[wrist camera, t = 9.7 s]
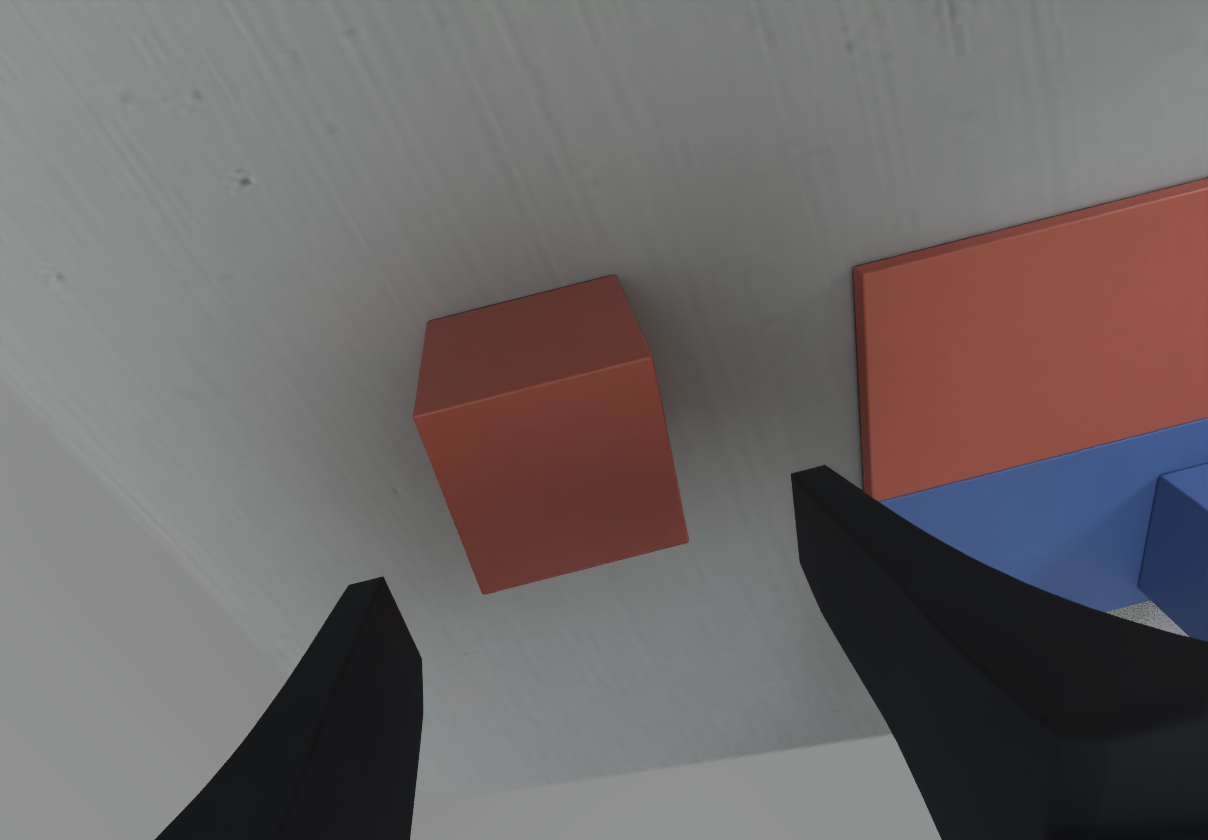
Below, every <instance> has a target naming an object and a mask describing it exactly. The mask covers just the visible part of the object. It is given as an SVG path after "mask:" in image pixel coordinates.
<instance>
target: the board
mask: <svg viewBox="0 0 1208 840" xmlns="http://www.w3.org/2000/svg"><path fill="white" fill-rule="evenodd" d="M853 270H854V291H855V312H856V333H857V354H858V374H859V395H860V416H861V437H862V458H863V478H864V492H865V493H867V494H868V495H870V496H871V497H873V498H874V499H875V500H877V501H878V502H880V503H881V504H883V505H884V506H886V507H887V508H889V509H890V510H892V511H893V512H895V513H897V514H898V515H900V516H901V517H903V518H905V519H906V520H908V521H909V522H911V523H913V524H914V525H916V526H917V527H919V528H920V529H922V530H924V531H925V532H927V533H929V534H930V535H932V536H934V537H935V538H937V539H939V540H941V541H942V542H944V543H946V544H948V545H950V546H952V547H953V548H955V549H957V550H959V551H961V552H962V553H964V554H966V555H968V556H970V557H972V558H974V559H976V560H978V561H980V562H982V563H984V564H986V565H988V566H990V567H992V568H995V569H997V570H999V571H1001V572H1003V573H1005V574H1008V575H1010V576H1012V577H1014V578H1016V579H1019V580H1021V581H1023V582H1025V583H1028V584H1030V585H1032V586H1035V587H1037V588H1040V589H1042V590H1045V591H1047V592H1050V593H1052V594H1055V595H1058V596H1060V597H1063V598H1066V599H1068V600H1071V601H1074V602H1076V603H1079V604H1082V605H1084V606H1087V607H1090V608H1093V609H1096V610H1099V611H1102V612H1106V611H1110V610H1114V609H1118V608H1122V607H1126V606H1130V605H1133V604H1137V603H1141V602H1145V601H1149V600H1150V599H1149V598H1148V597H1147V596H1146V595H1145V594H1144V593H1142V592H1141V591H1140V590H1139V588H1138V584H1139V579H1140V574H1141V568H1142V563H1143V558H1144V552H1145V547H1146V542H1147V537H1148V531H1149V526H1150V521H1151V515H1152V510H1153V505H1154V500H1155V494H1156V489H1157V484H1158V478H1159V476H1161V475H1164V474H1168V473H1172V472H1176V471H1180V470H1184V469H1188V468H1191V467H1195V466H1199V465H1203V464H1207V463H1208V178H1206V179H1203V180H1199V181H1195V182H1191V183H1187V184H1183V185H1179V186H1175V187H1171V188H1167V189H1163V190H1159V191H1155V192H1151V193H1147V194H1143V195H1139V196H1135V197H1131V198H1127V199H1123V200H1119V201H1115V202H1111V203H1107V204H1103V205H1099V206H1095V207H1091V208H1087V209H1083V210H1079V211H1075V212H1071V213H1067V214H1063V215H1059V216H1055V217H1051V218H1047V219H1043V220H1040V221H1036V222H1032V223H1028V224H1024V225H1020V226H1016V227H1012V228H1008V229H1004V230H1000V231H996V232H992V233H988V234H984V235H980V236H976V237H972V238H968V239H964V240H960V241H956V242H952V243H948V244H944V245H940V246H936V247H932V248H928V249H924V250H920V251H916V252H912V253H908V254H904V255H900V256H896V257H892V258H888V259H884V260H880V261H876V262H873V263H869V264H865V265H861V266H857V267H854V269H853Z"/></svg>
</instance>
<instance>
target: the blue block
mask: <svg viewBox="0 0 1208 840" xmlns="http://www.w3.org/2000/svg"><path fill="white" fill-rule="evenodd" d="M1138 588H1139V590H1140V591H1141V592H1142V593H1144V594H1145V595H1146V596H1147V597H1148V598H1149V599H1150V600H1151V601H1152V602H1153V603H1154V604H1155V605H1156V606H1157V607H1158V608H1159V609H1161V610H1162V611H1163V612H1164V613H1165V614H1166V615H1167V616H1168V617H1169V618H1170V619H1171V620H1172V621H1173V622H1174V623H1175V624H1177V625H1178V626H1179V627H1180V628H1181V629H1182V630H1183V631H1184V632H1185V633H1186V634H1187V635H1188V636H1189V637H1191V638H1195V639H1199V640H1203V641H1207V642H1208V463H1207V464H1203V465H1199V466H1195V467H1191V468H1188V469H1184V470H1180V471H1176V472H1172V473H1168V474H1164V475H1161V476H1159V478H1158V484H1157V489H1156V494H1155V500H1154V505H1153V510H1152V515H1151V521H1150V526H1149V531H1148V537H1147V542H1146V547H1145V552H1144V558H1143V563H1142V568H1141V574H1140V579H1139V584H1138Z"/></svg>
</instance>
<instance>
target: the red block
mask: <svg viewBox="0 0 1208 840" xmlns="http://www.w3.org/2000/svg"><path fill="white" fill-rule="evenodd" d="M413 419H414V421H415V424H416V426H417V429H418V431H419V434H420V437H421V439H422V442H423V444H424V447H425V449H426V452H427V454H428V457H429V460H430V462H431V465H432V467H433V470H434V472H435V475H436V477H437V480H438V483H439V485H440V488H441V490H442V493H443V495H444V498H445V501H446V503H447V506H448V508H449V511H450V513H451V516H452V518H453V521H454V524H455V526H456V529H457V531H458V534H459V536H460V539H461V541H462V544H463V547H464V549H465V552H466V554H467V557H468V559H469V562H470V564H471V567H472V570H473V572H474V575H475V577H476V580H477V582H478V585H479V587H480V590H481V593H482V594H484V595H485V594H489V593H493V592H497V591H501V590H504V589H508V588H512V587H516V586H520V585H524V584H528V583H532V582H536V581H540V580H544V579H548V578H551V577H555V576H559V575H563V574H567V573H571V572H575V571H579V570H583V569H587V568H591V567H595V566H598V565H602V564H606V563H610V562H614V561H618V560H622V559H626V558H630V557H634V556H638V555H642V554H645V553H649V552H653V551H657V550H661V549H665V548H669V547H673V546H677V545H681V544H685V543H688V542H689V537H688V532H687V527H686V522H685V517H684V512H683V507H682V502H681V497H680V492H679V487H678V482H677V477H676V472H675V467H674V462H673V457H672V452H671V447H670V442H669V436H668V431H667V426H666V421H665V416H664V411H663V406H662V401H661V396H660V391H659V386H658V381H657V376H656V371H655V366H654V361H653V356H652V354H651V352H650V350H649V348H648V345H647V343H646V341H645V339H644V336H643V334H642V332H641V330H640V327H639V325H638V323H637V321H636V318H635V316H634V314H633V312H632V309H631V307H630V305H629V303H628V300H627V298H626V296H625V294H624V291H623V289H622V287H621V285H620V282H619V280H618V278H617V276H616V275H612V276H608V277H604V278H600V279H596V280H592V281H588V282H584V283H580V284H576V285H572V286H568V287H564V288H560V289H556V290H552V291H548V292H544V293H540V294H536V295H532V296H528V297H524V298H520V299H516V300H512V301H508V302H504V303H500V304H496V305H492V306H488V307H484V308H480V309H476V310H472V311H468V312H464V313H460V314H456V315H452V316H448V317H444V318H441V319H437V320H433V321H429V322H427V326H426V333H425V340H424V346H423V353H422V360H421V367H420V373H419V380H418V387H417V393H416V400H415V407H414V414H413Z"/></svg>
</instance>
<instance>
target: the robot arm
mask: <svg viewBox="0 0 1208 840" xmlns="http://www.w3.org/2000/svg"><path fill="white" fill-rule="evenodd" d="M791 481H792V491H793V501H794V510H795V520H796V530H797V540H798V550H799V559H800V564H801V567H802V569H803V571H804V574H805V576H806V578H807V581H808V583H809V585H810V588H811V590H812V592H813V595H814V597H815V599H816V601H817V604H818V606H819V608H820V610H821V612H822V614H823V616H824V618H825V619H826V621H827V623H828V625H829V626H830V628H831V630H832V631H833V633H834V635H835V637H836V638H837V640H838V642H839V643H840V645H841V647H842V648H843V650H844V652H845V653H846V655H847V657H848V659H849V660H850V662H851V664H852V665H853V667H854V669H855V670H856V672H857V674H858V675H859V677H860V679H861V680H862V682H863V684H864V685H865V687H866V689H867V690H868V692H869V694H870V695H871V697H872V699H873V700H874V702H875V704H876V706H877V707H878V709H879V711H880V712H881V714H882V716H883V717H884V719H885V721H886V723H887V725H888V726H889V728H890V730H891V732H892V734H893V736H894V738H895V739H896V741H897V743H898V745H899V747H900V749H901V752H902V754H903V756H904V758H905V760H906V762H907V764H908V767H909V769H910V771H911V773H912V775H913V777H914V779H915V782H916V784H917V786H918V788H919V790H920V792H921V794H922V796H923V799H924V801H925V803H926V805H927V808H928V810H929V812H930V814H931V816H932V819H933V821H934V823H935V826H936V828H937V830H938V832H939V834H940V837H941V839H942V840H1208V642H1207V641H1203V640H1199V639H1195V638H1191V637H1186V636H1182V635H1178V634H1174V633H1171V632H1167V631H1163V630H1160V629H1157V628H1153V627H1150V626H1147V625H1143V624H1140V623H1136V622H1133V621H1130V620H1126V619H1123V618H1120V617H1117V616H1114V615H1111V614H1108V613H1105V612H1102V611H1099V610H1096V609H1093V608H1090V607H1087V606H1084V605H1082V604H1079V603H1076V602H1074V601H1071V600H1068V599H1066V598H1063V597H1060V596H1058V595H1055V594H1052V593H1050V592H1047V591H1045V590H1042V589H1040V588H1037V587H1035V586H1032V585H1030V584H1028V583H1025V582H1023V581H1021V580H1019V579H1016V578H1014V577H1012V576H1010V575H1008V574H1005V573H1003V572H1001V571H999V570H997V569H995V568H992V567H990V566H988V565H986V564H984V563H982V562H980V561H978V560H976V559H974V558H972V557H970V556H968V555H966V554H964V553H962V552H961V551H959V550H957V549H955V548H953V547H952V546H950V545H948V544H946V543H944V542H942V541H941V540H939V539H937V538H935V537H934V536H932V535H930V534H929V533H927V532H925V531H924V530H922V529H920V528H919V527H917V526H916V525H914V524H913V523H911V522H909V521H908V520H906V519H905V518H903V517H901V516H900V515H898V514H897V513H895V512H893V511H892V510H890V509H889V508H887V507H886V506H884V505H883V504H881V503H880V502H878V501H877V500H875V499H874V498H873V497H871V496H870V495H868V494H867V493H865V492H864V491H862V490H861V489H859V488H858V487H857V486H855V485H854V484H852V483H851V482H849V481H848V480H847V479H845V478H844V477H842V476H841V475H839V474H838V473H836V472H835V471H834V470H832V469H831V468H829V467H827V466H826V465H823V466H819V467H815V468H811V469H807V470H803V471H799V472H795V473H791ZM422 722H423V678H422V658H421V656H420V654H419V651H418V649H417V647H416V645H415V643H414V641H413V639H412V637H411V634H410V632H409V630H408V628H407V626H406V624H405V622H404V619H403V617H402V615H401V613H400V611H399V609H398V607H397V605H396V602H395V600H394V598H393V596H392V594H391V592H390V590H389V587H388V585H387V583H386V581H385V579H384V577H379V578H375V579H371V580H367V581H363V582H359V583H355V584H351V585H349V586H348V587H347V589H346V590H345V592H344V593H343V595H342V596H341V598H340V599H339V601H338V602H337V604H336V606H335V607H334V609H333V610H332V612H331V613H330V615H329V617H328V618H327V620H326V621H325V623H324V624H323V626H322V628H321V629H320V631H319V632H318V634H317V636H316V637H315V639H314V640H313V642H312V643H311V645H310V647H309V648H308V650H307V651H306V653H305V654H304V656H303V657H302V659H301V660H300V662H299V663H298V665H297V667H296V668H295V670H294V671H293V673H292V674H291V676H290V677H289V679H288V680H287V682H286V683H285V685H284V686H283V688H282V689H281V690H280V692H279V693H278V694H277V696H276V697H275V699H274V700H273V701H272V703H271V704H270V705H269V707H268V708H267V710H266V711H265V712H264V714H263V715H262V717H261V718H260V719H259V721H258V722H257V723H256V725H255V726H254V728H253V729H252V730H251V732H250V733H249V734H248V736H247V737H246V738H245V739H244V741H243V742H242V743H241V744H240V746H239V747H238V748H237V749H236V751H235V752H234V753H233V755H232V756H231V757H230V758H229V759H228V760H227V762H226V763H225V764H224V765H223V766H222V767H221V769H220V770H219V771H218V772H217V773H216V774H215V776H214V777H213V778H212V779H211V781H210V782H209V783H208V784H207V785H206V786H205V787H204V788H203V789H202V791H201V792H200V793H199V794H198V795H197V796H196V797H195V798H194V799H193V800H192V801H191V803H190V804H189V805H188V806H187V807H186V808H185V809H184V810H183V811H182V812H181V813H180V814H179V815H178V816H177V817H176V818H175V819H174V820H173V821H172V822H171V823H170V824H169V825H168V826H167V827H166V828H165V830H164V831H163V832H162V833H161V834H160V835H159V836H158V837H157V838H156V839H155V840H410V834H411V825H412V816H413V807H414V798H415V789H416V779H417V770H418V761H419V752H420V742H421V732H422Z"/></svg>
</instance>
